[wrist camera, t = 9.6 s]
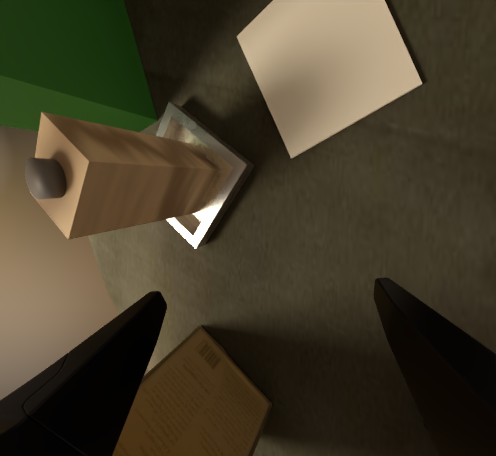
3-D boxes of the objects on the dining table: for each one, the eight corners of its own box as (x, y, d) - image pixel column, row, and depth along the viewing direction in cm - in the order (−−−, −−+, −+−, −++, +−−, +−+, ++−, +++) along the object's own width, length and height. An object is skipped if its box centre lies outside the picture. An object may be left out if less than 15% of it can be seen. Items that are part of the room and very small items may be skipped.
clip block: (220, 169, 24) (67, 160, 11) (195, 213, 26) (49, 243, 14) (188, 142, 25) (19, 107, 12) (168, 186, 27) (10, 193, 15)
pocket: (255, 165, 22) (246, 164, 20) (205, 244, 27) (195, 248, 25) (181, 106, 24) (168, 101, 23) (147, 188, 29) (135, 188, 28)
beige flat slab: (421, 85, 16) (422, 83, 15) (292, 158, 20) (291, 158, 20) (350, -72, 16) (350, -77, 15) (238, 38, 20) (236, 36, 20)
